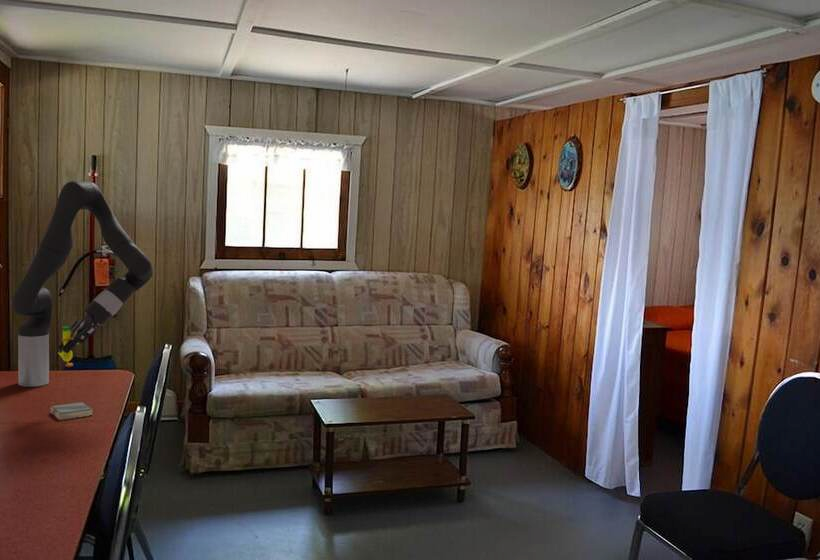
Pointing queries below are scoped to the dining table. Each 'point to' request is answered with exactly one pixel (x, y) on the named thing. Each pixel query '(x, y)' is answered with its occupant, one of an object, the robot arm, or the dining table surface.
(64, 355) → the toy figure
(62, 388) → the dining table surface
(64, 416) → the stand
